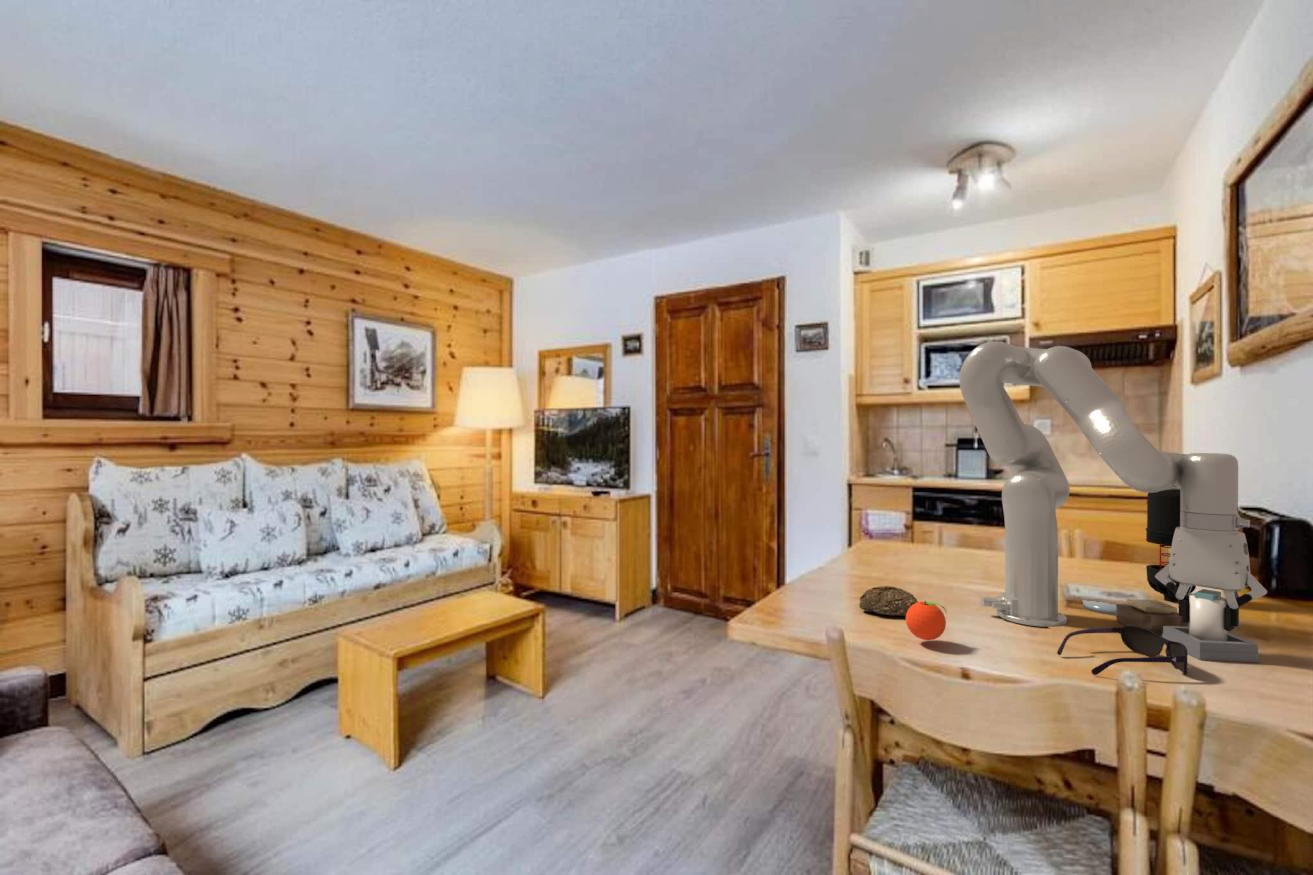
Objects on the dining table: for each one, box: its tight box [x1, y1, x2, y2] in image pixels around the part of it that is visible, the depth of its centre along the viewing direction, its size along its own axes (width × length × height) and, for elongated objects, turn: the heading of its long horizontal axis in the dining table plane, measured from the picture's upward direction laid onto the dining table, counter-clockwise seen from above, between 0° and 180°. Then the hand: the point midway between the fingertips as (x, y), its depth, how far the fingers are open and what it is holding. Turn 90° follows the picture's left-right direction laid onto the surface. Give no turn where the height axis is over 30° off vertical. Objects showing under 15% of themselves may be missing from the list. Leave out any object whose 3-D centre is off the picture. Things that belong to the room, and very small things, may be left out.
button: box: [1126, 598, 1178, 615], centre depth 118 cm, size 6×6×3 cm
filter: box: [1145, 489, 1197, 603], centre depth 139 cm, size 14×9×30 cm
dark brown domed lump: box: [859, 585, 919, 617], centre depth 133 cm, size 13×12×5 cm
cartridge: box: [1189, 588, 1228, 641], centre depth 105 cm, size 5×5×9 cm
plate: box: [1082, 599, 1116, 616], centre depth 131 cm, size 10×10×1 cm
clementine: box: [905, 600, 948, 641], centre depth 112 cm, size 8×7×7 cm
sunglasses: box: [1056, 625, 1188, 676], centre depth 100 cm, size 14×16×5 cm
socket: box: [1161, 626, 1260, 663], centre depth 105 cm, size 9×9×3 cm
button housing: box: [1115, 604, 1189, 635], centre depth 118 cm, size 8×8×4 cm
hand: (1207, 624), depth 105 cm, fingers closed on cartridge, 5 cm apart
